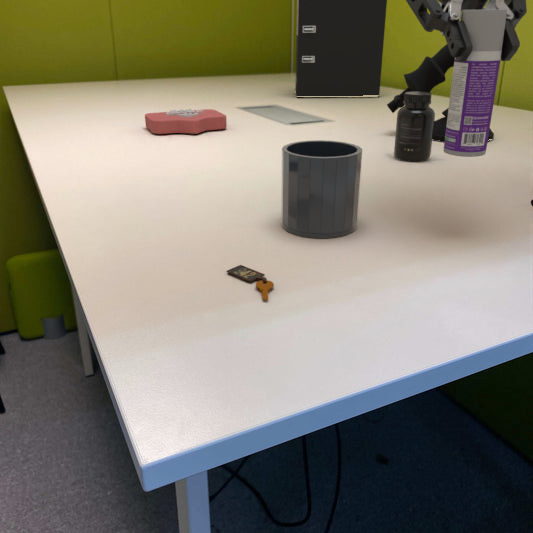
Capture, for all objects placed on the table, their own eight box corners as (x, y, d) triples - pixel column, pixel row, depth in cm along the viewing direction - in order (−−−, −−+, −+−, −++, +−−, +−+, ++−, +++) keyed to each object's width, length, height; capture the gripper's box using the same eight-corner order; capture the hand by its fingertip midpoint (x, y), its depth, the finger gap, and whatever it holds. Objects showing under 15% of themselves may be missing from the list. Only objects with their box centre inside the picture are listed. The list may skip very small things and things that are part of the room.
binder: (372, 92, 193) (380, -10, 179) (379, 98, 179) (388, -12, 166) (295, 92, 193) (297, -9, 180) (296, 98, 180) (298, -11, 166)
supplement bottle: (398, 152, 109) (404, 89, 104) (433, 155, 106) (441, 91, 101) (389, 160, 103) (395, 93, 98) (425, 163, 101) (434, 96, 96)
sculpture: (500, 144, 115) (523, 13, 105) (386, 141, 118) (397, 14, 108) (484, 130, 129) (503, 13, 119) (382, 128, 132) (392, 14, 122)
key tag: (224, 270, 59) (223, 265, 58) (248, 264, 60) (247, 259, 60) (264, 301, 52) (264, 295, 52) (290, 293, 54) (290, 287, 54)
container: (490, 150, 64) (512, 9, 58) (479, 158, 61) (502, 9, 54) (450, 145, 67) (467, 9, 60) (437, 153, 63) (455, 10, 57)
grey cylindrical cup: (317, 207, 78) (319, 137, 74) (372, 225, 71) (378, 148, 67) (266, 223, 72) (265, 148, 68) (321, 244, 65) (324, 162, 61)
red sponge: (155, 120, 120) (142, 111, 133) (157, 138, 122) (144, 127, 135) (232, 115, 127) (213, 106, 139) (233, 132, 128) (213, 122, 141)
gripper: (399, -96, 58) (441, 30, 53) (519, -93, 61) (571, 28, 55) (376, -36, 65) (411, 82, 60) (485, -35, 68) (528, 78, 62)
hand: (488, 55), depth 57 cm, fingers closed on container, 4 cm apart
